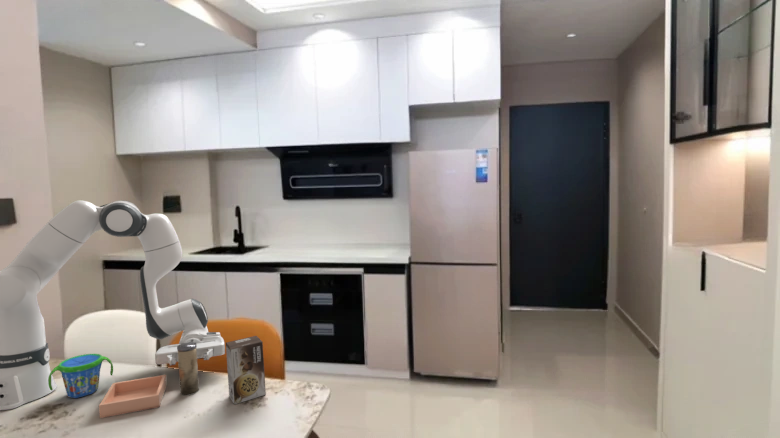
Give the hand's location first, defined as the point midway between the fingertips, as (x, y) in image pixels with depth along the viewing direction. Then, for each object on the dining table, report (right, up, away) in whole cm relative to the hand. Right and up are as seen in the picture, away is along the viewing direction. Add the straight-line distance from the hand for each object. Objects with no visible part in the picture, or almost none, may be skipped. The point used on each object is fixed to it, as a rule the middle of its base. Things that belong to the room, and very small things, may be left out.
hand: (189, 360), depth 127 cm
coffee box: (+20, -8, -7) cm, 23 cm away
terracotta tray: (-11, -9, -8) cm, 17 cm away
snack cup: (-31, -9, -3) cm, 32 cm away
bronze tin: (+2, -8, -3) cm, 9 cm away
